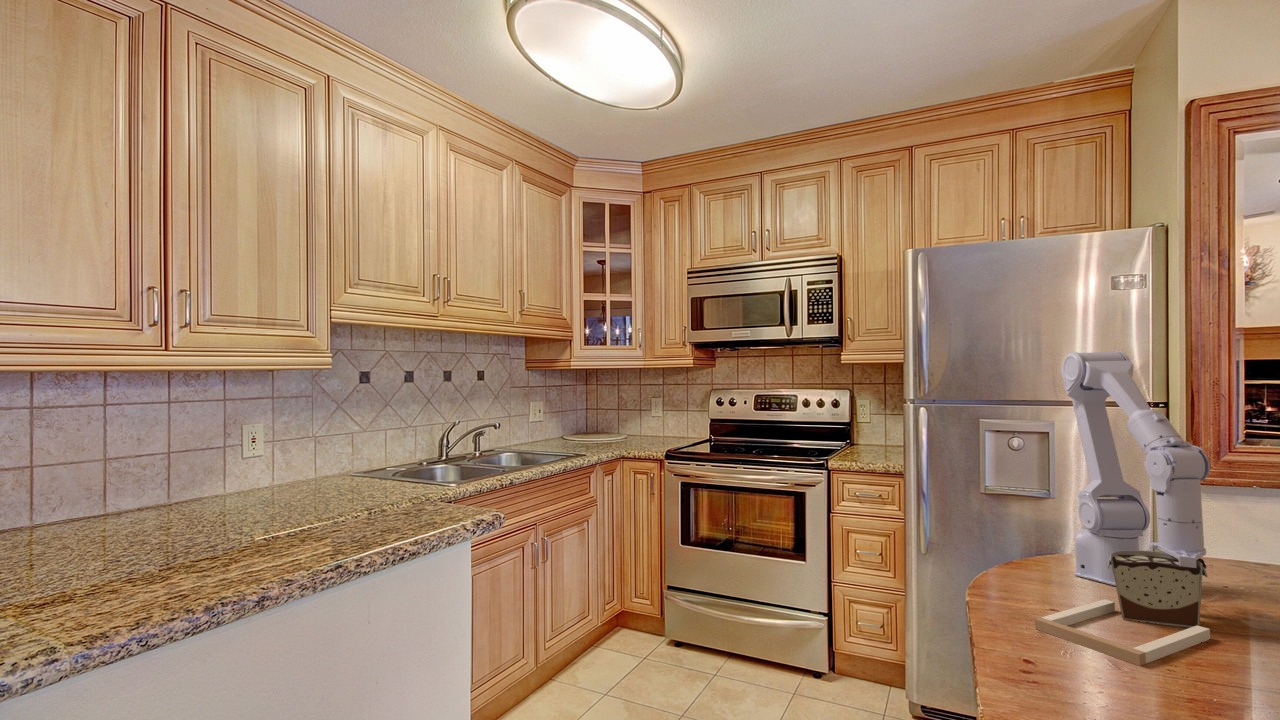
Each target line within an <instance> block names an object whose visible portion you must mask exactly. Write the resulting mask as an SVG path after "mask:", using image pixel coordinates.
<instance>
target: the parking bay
mask: <svg viewBox="0 0 1280 720" xmlns="http://www.w3.org/2000/svg"><path fill="white" fill-rule="evenodd" d="M1115 603H1116V602H1115V601H1112V600H1109V599H1105V598H1104V599H1100V600H1097V601H1094V602H1090V603H1087V604H1084V605H1083V604H1082V605H1080V606H1075V607H1073V608H1069V609H1066V610H1063V611H1058V612H1056V613H1052V614H1049V615H1045V616H1042V617H1041V616H1040V617H1038V618H1035V619H1034V622H1035V623H1034V628H1035V630H1038V631H1040V632H1043V633H1046V634H1049V635H1051V636H1054V637H1058V638H1060V639H1063V640H1066V641H1068V642H1071V643H1073V644H1077V645H1080V646H1083V647H1085V648H1088V649H1091V650H1094V651H1096V652H1100V653H1102V654H1105V655H1107V656H1111V657H1114V658H1117V659H1120V660H1122V661H1124V662H1125V661H1126V662H1128V663H1131V664H1133V665H1136V666H1140V667H1141V666H1143V665H1144V666H1145V664H1148V663H1151V662H1153V661H1156V660H1159V659H1162V658H1164V657H1167V656H1170V655H1173V654H1175V653H1178V652H1180V651H1183V650H1186V649H1188V648H1192V647H1193V646H1197V645H1199V644H1201V642H1202V643H1204V642H1207V641H1209V639H1210V640H1211V631H1210V630H1211V629H1210V628H1208V627H1204V626H1201V625H1199V626H1194V627H1191V628H1189V627H1187V628H1186V629H1183V630H1180V631H1177V632H1175V633H1172V634H1169V635H1166V636H1163V637H1161V638H1157V639H1155V640H1152V641H1149V642H1146V643H1144V644H1141V645H1137V646H1135V647H1130V646H1127V645H1124V644H1121V643H1118V642H1115V641H1113V640H1109V639H1106V638H1103V637H1101V636H1098V635H1095V634H1092V633H1088V632H1085V631H1083V630H1079V629H1077V628H1074V627H1072V626H1071V625H1074V624H1077V623H1080V622H1081V623H1082V622H1084V621H1087V619H1088V620H1091V619H1094V618H1098V617H1101V616H1104V615H1106V614H1110V613H1113V612H1116V605H1115ZM1090 618H1091V619H1090Z"/></svg>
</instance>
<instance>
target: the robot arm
mask: <svg viewBox="0 0 1280 720" xmlns="http://www.w3.org/2000/svg"><path fill="white" fill-rule="evenodd" d="M1060 371H1061V377H1062V381H1063V385H1064V389H1065V392H1066V396H1067V397H1070V398H1071V402H1072V406H1073V411H1074V415H1075V419H1076V423H1077V428H1078V433H1079V438H1080V442H1081V446H1082V450H1083V455H1084V459H1085V464H1086V469H1087V473H1088V476H1089V481H1090V483H1088V484H1087V485H1086V486H1085V487H1083V488H1082V489H1081V490H1080V491H1079V492H1078V493H1077V498H1078V508H1077V509H1078V510H1077V514H1078V519H1079V520H1080V521H1079V522H1080V523H1081V525H1082V526H1083V527H1084V528H1082V529H1080V530H1079V531H1078V532H1077V533H1076V537H1075V540H1074V541H1075V542H1074V543H1075V545H1074V546H1075V548H1074V550H1075V567H1076V568H1075V570H1076V572H1074V574H1073V575H1074V576H1076V577H1081V578H1084V579H1088V580H1090V581H1096V582H1100V583H1103V584H1107V585H1112V586H1115V587H1116V584H1115V579H1114V574H1113V569H1112V564H1111V565H1110V566H1109V569H1108V568H1107V566H1108V560H1109V557H1110V555H1111V553H1113V552H1116V551H1123V550H1140V538H1139V537H1143V536H1144V533H1143V532H1146V531H1147V529H1148V528H1149V526H1150V523H1151V514H1150V511H1149V509H1148V507H1147V506H1146V504H1145V503H1144V500H1143V498H1142V495H1141V491H1140V490H1138V489H1137V488H1135V487H1134V486H1132V485H1131V484H1130V483H1128V482H1126V481H1124V480H1125V479H1124V476H1123V473H1122V472H1123V471H1122V469H1121V465H1120V459H1119V457H1118V452H1117V449H1116V445H1115V440H1114V435H1113V432H1112V428H1111V423H1110V420H1109V419H1110V418H1109V415H1108V411H1107V407H1106V403H1105V402H1106V400H1107V399H1108V398H1110V397H1111V399H1112V400H1114V402H1115V403H1116V404H1117V406H1119V408H1120V409H1121V410H1122V411H1123V413H1124V414H1125V415H1126V416H1127V418H1129V419H1128V421H1127V423H1126V428H1127V430H1128V431H1129V433H1130V434H1131V436H1132V437H1133V438H1134V440H1135V441H1136V443H1137V444H1138V446H1139V447H1140V450H1142V452H1143V454H1144V455H1145V456H1146V457H1145V460H1144V461H1143V465H1144V469H1145V472H1146V474H1147V475H1148V477H1149V480H1150V481H1149V482H1150V487H1151V489H1152V491H1155V493H1154V494H1155V510H1156V513H1155V514H1156V530H1157V533H1156V534H1157V542H1156V541H1155V542H1153V541H1150V542H1148V546H1149V548H1150V549H1154V550H1159V552H1162V553H1167V554H1169V555H1171V556H1173V557H1175V558H1177V559H1178V560H1179V566H1183V567H1191V568H1197V564H1196V560H1197V561H1199V562H1201V563H1202V566H1203V567H1204V568H1205V570H1206V569H1207V565H1206V564H1205V561H1204V559H1203V557H1205V556H1206V555H1207V549H1206V548H1205V542H1204V541H1205V540H1204V539H1205V538H1204V523H1203V520H1204V519H1203V504H1202V503H1203V502H1202V488H1201V487H1202V486H1201V482H1202V481H1204V480H1205V479H1206V478H1208V476H1209V475H1210V471H1211V470H1210V468H1211V465H1210V461H1209V457H1208V456H1207V454H1206V453H1205V451H1204V449H1202V447H1199V446H1197V445H1193V444H1192V443H1191V442H1190V441H1186V440H1184V439H1183V438H1182V436H1181V435H1180V434H1179V433H1178V431H1177V430H1176V428H1175V427H1174V426H1173V425H1172V423H1171V421H1170V420H1169V419H1168V418H1167V417H1166V415H1165V414H1164V413H1163V412H1162V411H1159V410H1154V409H1153V410H1152V408H1151V407H1150V405H1149V403H1148V402H1147V400H1146V398H1145V396H1144V395H1143V393H1142V392H1141V390H1140V388H1139V387H1138V385H1137V383H1136V381H1135V380H1134V379H1133V376H1134V363H1133V362H1132V361H1131V359H1130V358H1129V356H1128V355H1127V354H1126V353H1125V352H1123V351H1120V350H1117V351H1110V352H1109V351H1104V352H1103V351H1102V352H1099V351H1098V352H1076V351H1073V352H1069V353H1068V354H1067V355H1066V356H1065V358H1064V360H1063V362H1062V366H1061V369H1060Z"/></svg>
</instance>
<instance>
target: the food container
mask: <svg viewBox="0 0 1280 720" xmlns="http://www.w3.org/2000/svg"><path fill="white" fill-rule="evenodd" d="M1111 564H1112V569H1113V574H1114V579H1115V584H1116V586H1115V588H1116V594H1117V598H1118V602H1119V609H1120V613H1121V619H1122V618H1123V619H1122V620H1123V621H1129V620H1131V622H1138V621H1140V622H1139V623H1146V622H1149V623H1148V624H1155V623H1156V624H1158V625H1164V626H1172V627H1173V626H1175V627H1181V628H1191V627H1194V626H1200V624H1201V623H1200V621H1201V619H1200V618H1201V617H1200V616H1201V602H1202V601H1201V600H1202V585H1203V582H1202V581H1203V576H1204V577H1205V578H1208V574H1207V570H1206V569H1205V568H1204V567H1203V566H1202V563H1201V562H1199V561H1197V560H1196V564H1197V568H1191V567H1183V566H1179V560H1178V559H1177V558H1175V557H1173V556H1171V555H1169V554H1167V553H1164V552H1162V551H1152V550H1141V549H1139V550H1123V551H1116V552H1113V553H1111V555H1110V557H1109V560H1108V566H1107V568H1108V569H1109V566H1110V565H1111ZM1156 624H1155V625H1156Z"/></svg>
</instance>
